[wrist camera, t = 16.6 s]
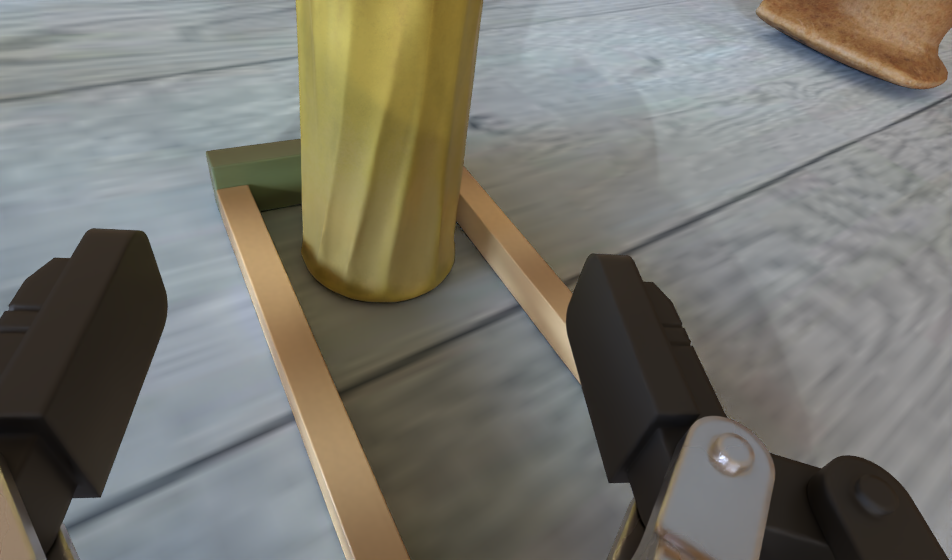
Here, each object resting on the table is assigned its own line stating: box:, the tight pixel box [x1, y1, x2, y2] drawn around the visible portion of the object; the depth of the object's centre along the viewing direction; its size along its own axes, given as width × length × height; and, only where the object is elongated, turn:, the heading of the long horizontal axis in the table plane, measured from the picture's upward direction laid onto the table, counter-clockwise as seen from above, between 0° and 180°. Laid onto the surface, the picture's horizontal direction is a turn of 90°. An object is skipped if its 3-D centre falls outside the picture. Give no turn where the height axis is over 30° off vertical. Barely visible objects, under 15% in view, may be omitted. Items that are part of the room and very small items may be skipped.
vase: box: [296, 0, 483, 302], centre depth 18 cm, size 6×6×14 cm
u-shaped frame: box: [206, 139, 581, 560], centre depth 19 cm, size 20×10×2 cm, turn 29°
